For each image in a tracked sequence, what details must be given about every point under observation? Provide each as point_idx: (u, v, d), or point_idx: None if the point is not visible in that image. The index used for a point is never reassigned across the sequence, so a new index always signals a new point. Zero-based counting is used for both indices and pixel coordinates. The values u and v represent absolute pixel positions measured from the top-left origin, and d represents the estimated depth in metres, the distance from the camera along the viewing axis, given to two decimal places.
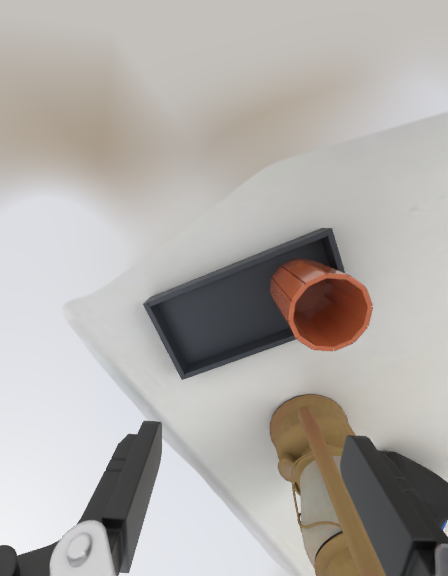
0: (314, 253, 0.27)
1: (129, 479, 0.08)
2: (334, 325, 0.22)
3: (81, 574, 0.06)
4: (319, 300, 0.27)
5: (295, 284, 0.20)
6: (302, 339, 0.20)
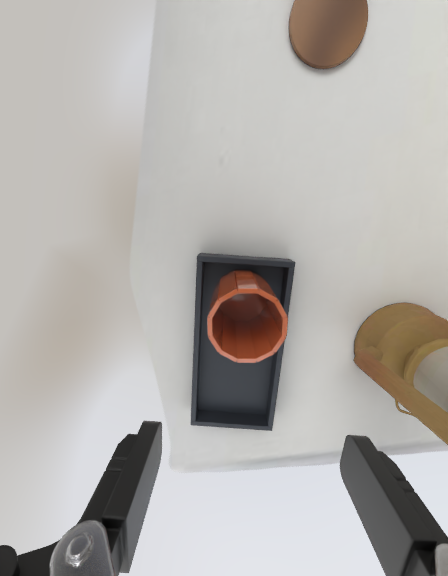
0: (218, 270, 0.27)
1: (129, 479, 0.08)
2: (275, 307, 0.22)
3: (81, 574, 0.06)
4: None
5: None
6: (259, 358, 0.20)
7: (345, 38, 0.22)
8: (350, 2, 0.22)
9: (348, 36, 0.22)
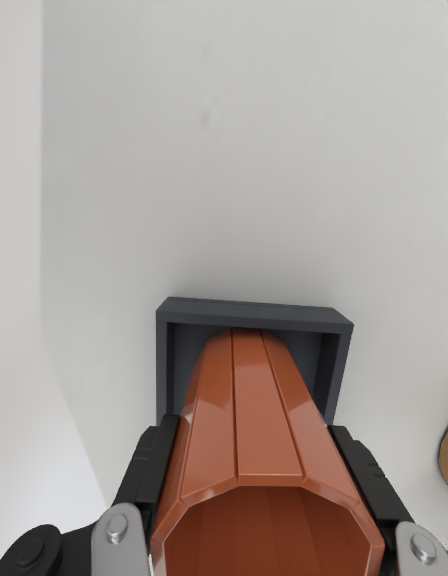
0: (201, 329, 0.15)
1: (156, 467, 0.08)
2: None
3: (118, 551, 0.06)
4: None
5: None
6: None
7: None
8: None
9: None
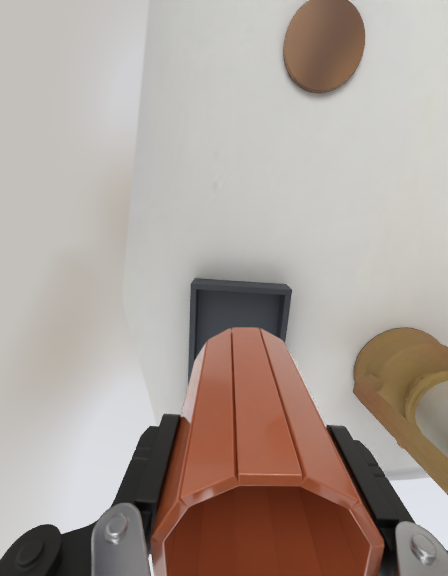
0: (213, 296, 0.27)
1: (156, 467, 0.08)
2: None
3: (118, 551, 0.06)
4: None
5: None
6: None
7: (341, 62, 0.22)
8: (346, 26, 0.21)
9: (345, 60, 0.21)
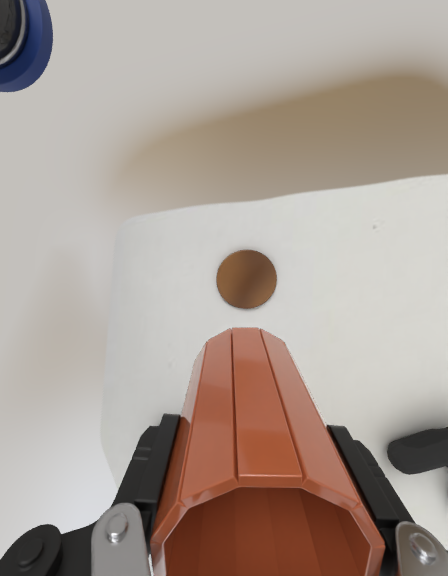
0: None
1: (156, 467, 0.08)
2: None
3: (118, 552, 0.06)
4: None
5: None
6: None
7: (260, 291, 0.29)
8: (261, 269, 0.28)
9: (262, 290, 0.28)
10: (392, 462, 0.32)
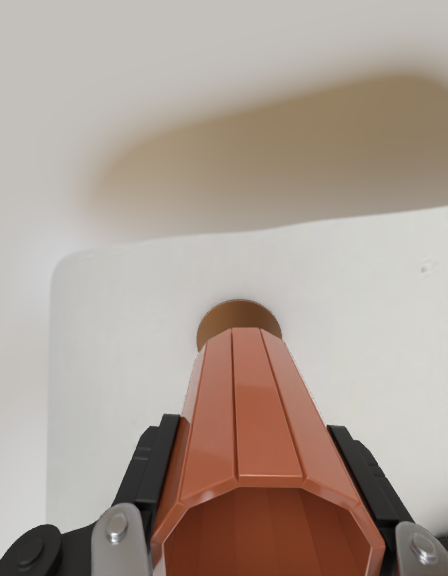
0: None
1: (156, 467, 0.08)
2: None
3: (118, 551, 0.06)
4: None
5: None
6: None
7: None
8: (261, 327, 0.20)
9: None
10: None
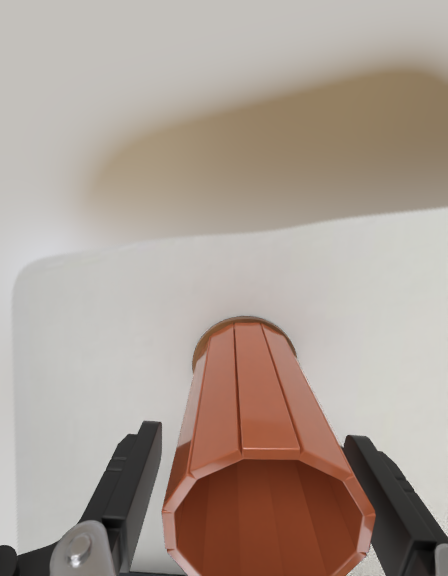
0: None
1: (129, 479, 0.08)
2: None
3: (81, 574, 0.06)
4: None
5: None
6: None
7: None
8: None
9: None
10: None
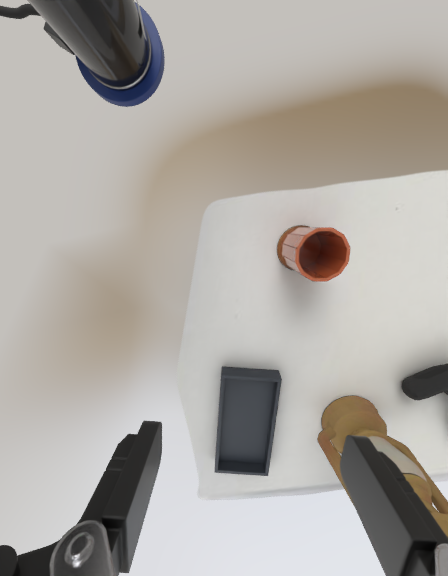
0: None
1: (129, 479, 0.08)
2: (336, 247, 0.32)
3: (81, 574, 0.06)
4: (318, 239, 0.37)
5: (294, 264, 0.31)
6: (329, 277, 0.30)
7: None
8: None
9: None
10: (406, 392, 0.42)
